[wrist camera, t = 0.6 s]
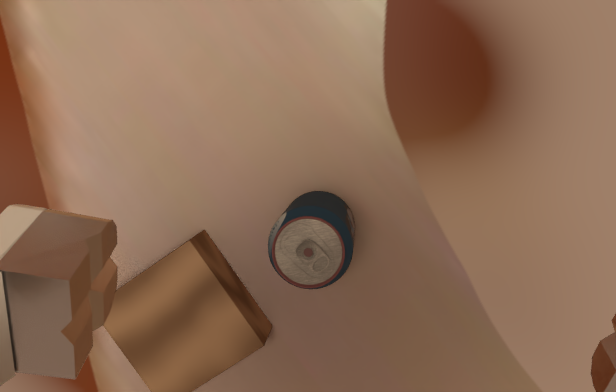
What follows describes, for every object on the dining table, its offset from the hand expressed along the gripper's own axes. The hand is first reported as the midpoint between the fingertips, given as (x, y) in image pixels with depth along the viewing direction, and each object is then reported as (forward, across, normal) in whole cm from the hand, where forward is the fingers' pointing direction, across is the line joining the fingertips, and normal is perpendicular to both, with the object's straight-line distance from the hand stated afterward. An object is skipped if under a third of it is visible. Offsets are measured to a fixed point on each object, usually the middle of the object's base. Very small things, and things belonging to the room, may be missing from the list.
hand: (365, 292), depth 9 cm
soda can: (+40, +2, -24) cm, 47 cm away
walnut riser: (+38, -9, -35) cm, 52 cm away
